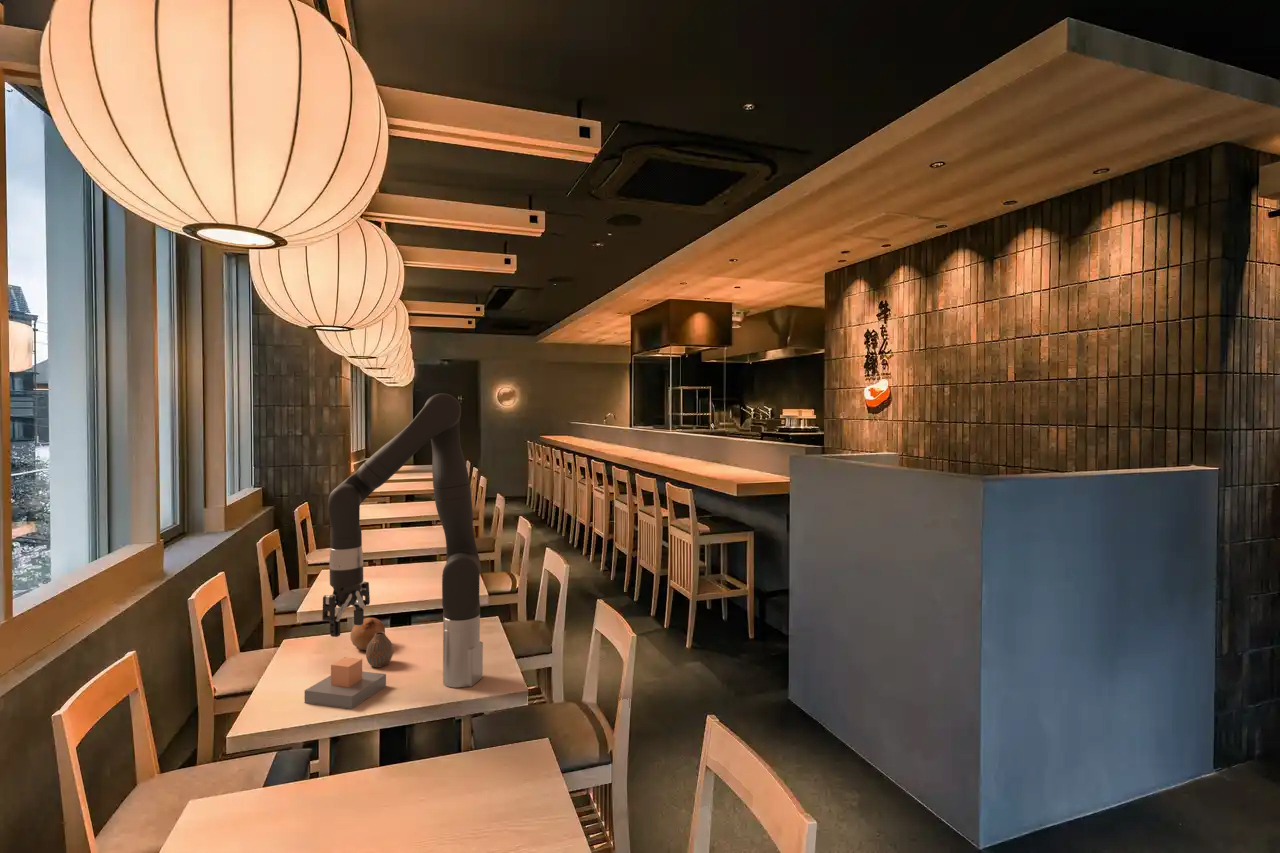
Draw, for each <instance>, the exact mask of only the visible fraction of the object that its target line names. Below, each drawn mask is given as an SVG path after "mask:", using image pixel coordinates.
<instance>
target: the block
mask: <svg viewBox="0 0 1280 853" xmlns="http://www.w3.org/2000/svg"><path fill="white" fill-rule="evenodd" d="M362 671H363V658H355V657H348V656H345V657H342V658H341V659H339V660H337V661H335V662H333V663H332V664H330V676H331V685H334V686H342V687H350V686H352V685H353V684H355V683H356V682H358V681H360V680H361V679H362Z"/></svg>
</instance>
